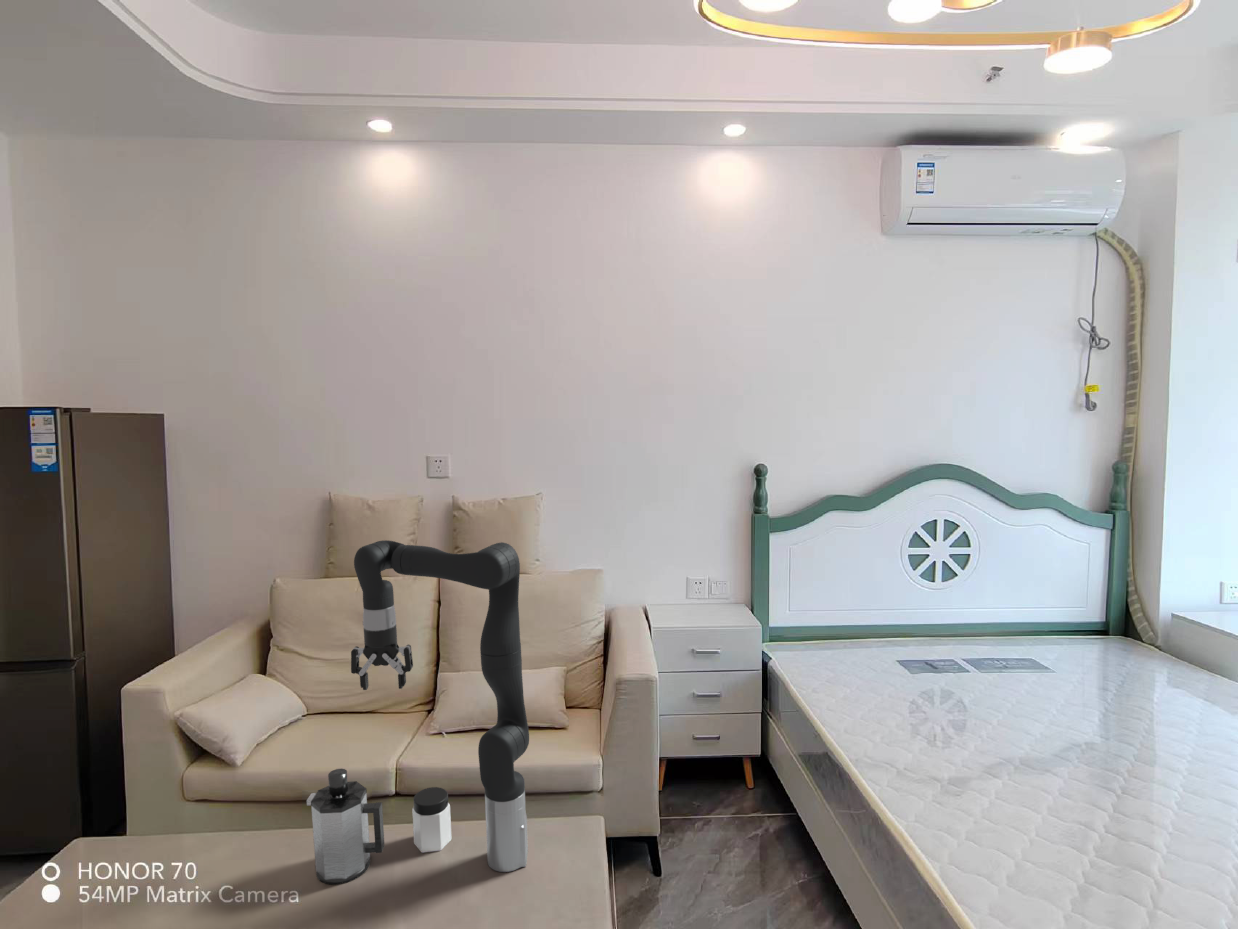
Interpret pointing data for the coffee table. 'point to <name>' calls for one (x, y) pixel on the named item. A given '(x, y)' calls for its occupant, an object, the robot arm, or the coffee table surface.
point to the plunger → (338, 782)
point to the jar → (431, 819)
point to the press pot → (344, 833)
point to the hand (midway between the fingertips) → (383, 688)
